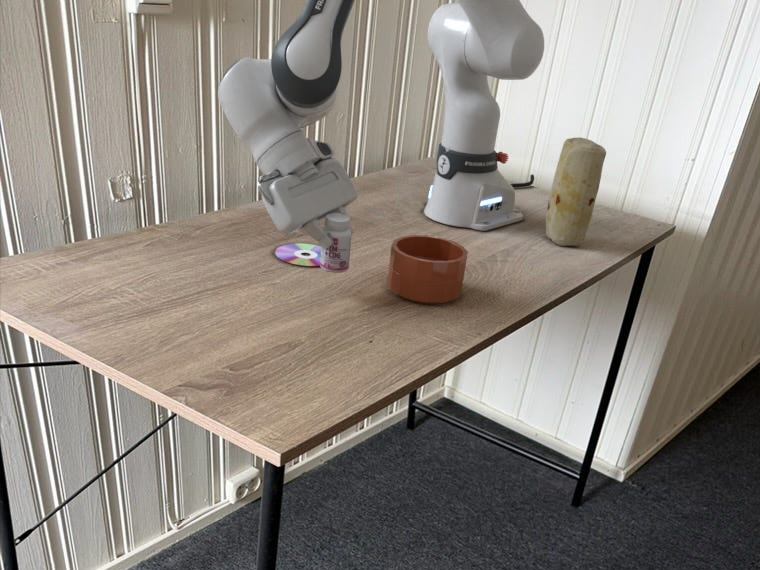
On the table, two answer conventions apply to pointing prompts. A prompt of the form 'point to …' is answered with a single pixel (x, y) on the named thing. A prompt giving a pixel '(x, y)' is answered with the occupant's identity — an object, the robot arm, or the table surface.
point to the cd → (294, 251)
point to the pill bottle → (337, 243)
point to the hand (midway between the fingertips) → (339, 241)
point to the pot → (426, 268)
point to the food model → (574, 191)
